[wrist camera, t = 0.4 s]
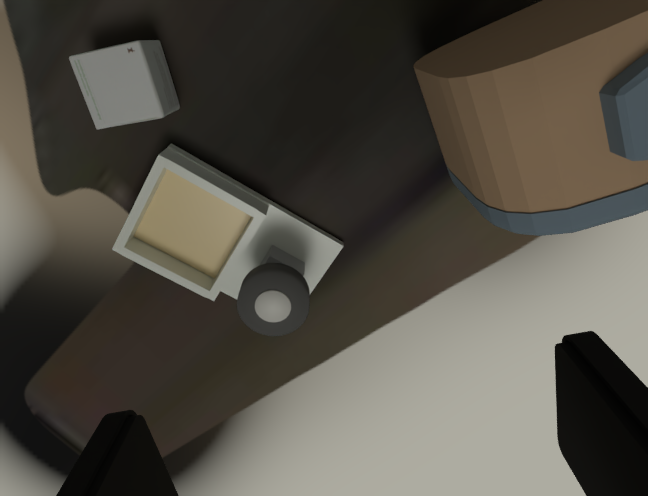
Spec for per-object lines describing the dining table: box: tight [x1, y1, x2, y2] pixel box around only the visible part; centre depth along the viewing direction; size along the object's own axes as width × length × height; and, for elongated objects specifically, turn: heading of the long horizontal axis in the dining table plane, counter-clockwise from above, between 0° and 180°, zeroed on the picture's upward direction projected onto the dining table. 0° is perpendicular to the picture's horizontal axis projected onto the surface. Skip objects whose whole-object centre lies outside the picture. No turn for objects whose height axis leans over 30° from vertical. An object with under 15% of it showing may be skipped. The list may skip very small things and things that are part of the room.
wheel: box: [237, 263, 310, 336], centre depth 42 cm, size 6×6×5 cm
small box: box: [69, 40, 180, 129], centre depth 38 cm, size 6×6×5 cm
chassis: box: [112, 143, 343, 301], centre depth 45 cm, size 18×10×4 cm, turn 58°
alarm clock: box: [413, 0, 648, 236], centre depth 31 cm, size 21×10×22 cm, turn 113°
